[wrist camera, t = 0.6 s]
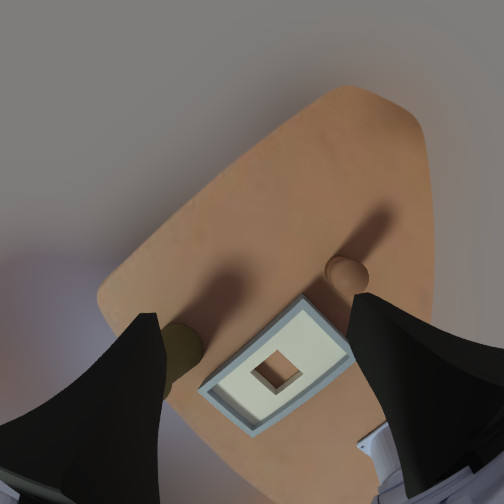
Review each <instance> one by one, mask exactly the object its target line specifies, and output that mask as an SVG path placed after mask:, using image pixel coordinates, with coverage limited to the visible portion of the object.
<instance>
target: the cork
mask: <svg viewBox="0 0 504 504" xmlns="http://www.w3.org/2000/svg"><path fill="white" fill-rule="evenodd" d="M161 334H162V338H163V342H164V346H165V349H166V353H167V373H166V384H165V390H164V396H163V400H165V399H166V397H167V396H168V395H169V393H170V391H171V388H172V383H173V382H175V381H176V380H177V379H179V378H180V377H181V376H183V375H184V374H185V373H187V372H188V371H189V370H191V369H192V368H193V367H194V366H196V365H197V364H198V363H199V362H200V360H201V359H202V357H203V351H204V350H203V344H202V341H201V339H200V337H199V336H198V334H197V333H196V332H195V331H194V330H193V329H191V328H190V327H188V326H187V325H183V324H180V323H172V324H169V325H167V326H165V327H164V328H163V329H162V330H161Z"/></svg>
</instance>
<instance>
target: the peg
mask: <svg viewBox="0 0 504 504" xmlns="http://www.w3.org/2000/svg"><path fill="white" fill-rule="evenodd" d="M325 275H326V277H327V279H328V280H329V281H330V282H331V283H332V284H333V285H334V286H335V288H336V289H337V290H338V291H339V292H340V293H341V294H343V295H345V296H349V297H353V296H354V294H360V293H362V292H363V291H364V290H365V289H366V287H367V285H368V282H369V274H368V271H367V269H366V267H365V266H364V265H363V264H361V263H360V262H357V261H354V260H351V259H348V258H345V257H342V256H335V257H333V258H331V259H330V260H329V261H328V262H327V264H326V266H325Z"/></svg>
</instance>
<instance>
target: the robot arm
mask: <svg viewBox="0 0 504 504" xmlns="http://www.w3.org/2000/svg"><path fill="white" fill-rule="evenodd" d="M346 337H347V340H348V342H349V345H350V348H351V350H352V353H353V355H354V358H355V359H356V361H357V363H358V365H359V367H360V369H361V370H362V372H363V374H364V376H365V377H366V379H367V381H368V383H369V385H370V386H371V388H372V390H373V392H374V393H375V395H376V397H377V399H378V401H379V403H380V405H381V407H382V409H383V412H384V414H385V417H386V420H387V421H386V422H385V423H384V424H382V425H381V426H380V427H379V428H377V429H376V430H375V431H373V432H372V433H370V434H369V435H368V436H366V437H365V438H364V439H362V440H361V441H359V442H358V443H357V447H358V448H359V449H360V450H362V451H363V452H364V453H366V454H367V455H369V456H370V457H371V458H372V459H373V463H374V466H375V469H376V472H377V475H378V479H379V482H380V485H381V486H379V487H378V492H379V495H376V496H375V497H373V500H372V502H371V504H504V349H502V348H496V347H491V346H487V345H483V344H479V343H476V342H472V341H469V340H466V339H463V338H460V337H457V336H455V335H452V334H450V333H447V332H445V331H442V330H440V329H438V328H436V327H434V326H432V325H430V324H428V323H426V322H423V321H422V320H420V319H418V318H416V317H414V316H412V315H410V314H408V313H407V312H405V311H403V310H401V309H399V308H398V307H396V306H394V305H392V304H390V303H389V302H387V301H385V300H383V299H381V298H379V297H377V296H375V295H373V294H371V293H369V292H367V293H360V294H354V299H353V305H352V310H351V315H350V321H349V325H348V330H347V335H346ZM166 373H167V353H166V349H165V346H164V342H163V338H162V334H161V330H160V327H159V323H158V319H157V314H156V313H140V314H139V315H138V316H137V317H136V318H135V319H134V320H133V321H132V323H131V324H130V325H129V326H128V327H127V328H126V329H125V331H124V332H123V333H122V334H121V335H120V336H119V337H118V339H117V340H116V341H115V342H114V343H113V344H112V345H111V346H110V348H109V349H108V350H107V351H106V352H105V353H104V354H103V355H102V356H101V357H100V358H99V359H98V360H97V361H96V362H95V363H94V364H93V365H92V366H91V367H90V368H89V369H88V370H87V371H86V372H85V373H83V374H82V375H81V376H80V377H79V378H78V379H77V380H75V381H74V382H73V383H72V384H71V385H69V386H68V387H67V388H65V389H64V390H62V391H61V392H60V393H58V394H57V395H55V396H54V397H53V398H51V399H50V400H48V401H47V402H45V403H44V404H42V405H40V406H39V407H37V408H35V409H34V410H32V411H30V412H28V413H26V414H25V415H23V416H21V417H19V418H16V419H14V420H12V421H10V422H7V423H5V424H3V425H1V426H0V480H1V481H3V482H4V483H5V484H7V485H8V486H9V487H11V488H12V489H13V490H15V491H16V492H18V493H19V494H20V497H19V501H18V500H16V499H15V498H13V497H11V496H10V495H8V494H6V493H4V492H2V491H0V504H160V497H159V485H158V461H157V444H158V443H157V442H158V440H157V439H158V429H159V422H160V415H161V409H162V403H163V396H164V390H165V384H166ZM361 446H362V447H361Z"/></svg>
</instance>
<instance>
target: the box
mask: <svg viewBox="0 0 504 504" xmlns="http://www.w3.org/2000/svg"><path fill="white" fill-rule="evenodd" d="M277 349H278V350H279V351H280V352H281V353H282V354H283V355H284V356H285V357H286V358H287V359H288V360H289V361H290V362H291V363H292V364H294V365H295V366H296V367H297V368H298V369H299V370H300V371H299V372H297V373H296V374H295V375H294V376H293V377H291V378H290V379H289V380H287V381H286V382H285V383H284V384H282V385H281V386H280V387H279V388H277V389H276V388H275V387H274V386H273V385H271V384H270V383H269V382H268V381H267V380H266V379H265V378H264V377H263V376H261V375H260V374H259V373H258V372H257V371H256V370H255V369H254V368H255V367H257V366H258V365H259V364H260V363H261V362H263V361H264V360H265V359H266V358H267V357H269V356H270V355H271V354H272V353H273V352H275V351H276V350H277ZM355 361H356V359H355V358H354V355H353V353H352V350H351V348H350V345H349V342H348V340H347V338H346V337H345V336H344V335H343V334H342V333H341V332H340V331H339V330H338V329H337V328H336V327H335V326H334V325H333V324H332V323H331V322H330V321H329V320H328V319H327V318H326V317H325V316H324V315H323V314H322V313H321V312H320V311H319V310H318V309H317V308H316V307H315V306H314V305H313V304H312V303H311V302H310V301H309V300H308V299H307V298H306V297H305V295H304V294H303V293H302V294H301V295H299V296H298V297H297V298H296V299H295V300H294V301H293V302H292V303H291V304H290V305H289V306H288V307H287V308H286V309H285V310H284V311H282V312H281V313H280V314H279V315H278V316H277V317H276V318H275V319H274V320H273V321H272V322H271V323H269V324H268V325H267V326H266V327H265V328H264V329H263V330H262V331H261V332H259V333H258V334H257V335H256V336H255V337H254V338H253V339H252V340H250V341H249V342H248V343H247V344H246V345H245V346H244V347H242V348H241V349H240V350H239V351H238V352H237V353H236V354H234V355H233V356H232V357H231V358H230V359H229V360H227V361H226V362H225V363H224V364H223V365H222V366H220V367H219V368H218V369H217V370H216V371H214V372H213V373H212V374H211V375H210V376H208V377H207V378H206V379H205V380H204V381H203V382H202V384H201V385H200V387H199V388H198V390H197V391H198V392H199V393H200V394H201V395H202V396H203V397H204V398H206V399H207V400H208V401H209V402H210V403H211V404H212V405H213V406H215V407H216V408H217V409H218V410H219V411H220V412H221V413H223V414H224V415H225V416H226V417H227V418H229V419H230V420H231V421H232V422H233V423H235V424H236V425H237V426H238V427H240V428H241V429H242V430H243V431H245V432H246V433H247V434H248V435H250V436H251V437H252V438H253V437H255V436H256V435H258V434H260V433H261V432H263V431H264V430H266V429H267V428H269V427H270V426H272V425H273V424H275V423H276V422H278V421H279V420H281V419H282V418H284V417H285V416H287V415H288V414H289V413H291V412H292V411H294V410H295V409H296V408H298V407H299V406H300V405H302V404H303V403H305V402H306V401H307V400H309V399H310V398H311V397H312V396H314V395H315V394H316V393H318V392H319V391H320V390H322V389H323V388H324V387H325V386H327V385H328V384H329V383H330V382H332V381H333V380H334V379H335V378H336V377H338V376H339V375H340V374H341V373H342V372H344V371H345V370H346V369H347V368H348V367H349V366H351V365H352V364H353V363H354V362H355Z"/></svg>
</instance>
